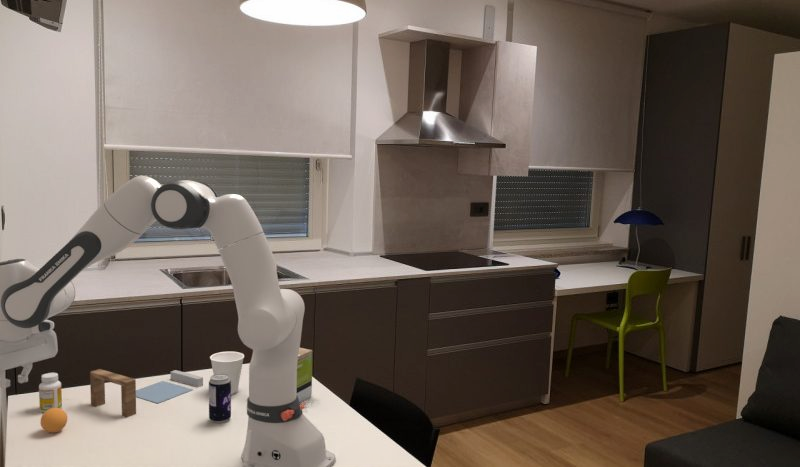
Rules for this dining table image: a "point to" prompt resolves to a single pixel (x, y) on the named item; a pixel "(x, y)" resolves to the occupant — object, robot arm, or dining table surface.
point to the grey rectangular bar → (186, 378)
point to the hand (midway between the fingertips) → (14, 384)
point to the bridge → (126, 383)
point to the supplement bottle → (50, 392)
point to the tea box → (304, 374)
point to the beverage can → (219, 398)
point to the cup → (228, 366)
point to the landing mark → (161, 392)
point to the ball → (54, 420)
